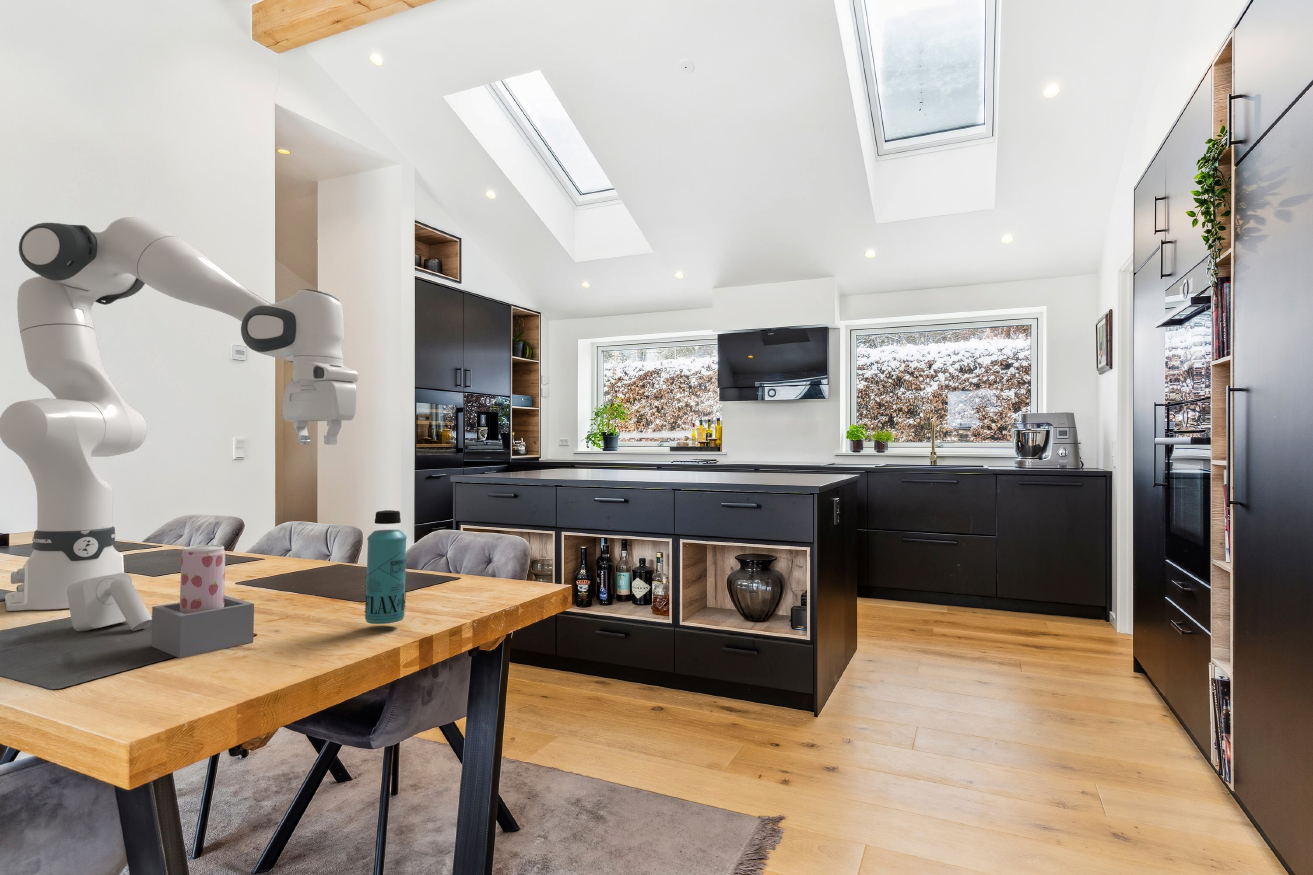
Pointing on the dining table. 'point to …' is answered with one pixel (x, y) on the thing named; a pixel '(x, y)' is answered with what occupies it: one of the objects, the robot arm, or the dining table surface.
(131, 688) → the dining table surface
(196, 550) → the beverage can
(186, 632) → the open box
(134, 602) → the wall hook
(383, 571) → the beverage bottle
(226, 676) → the dining table surface
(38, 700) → the dining table surface
